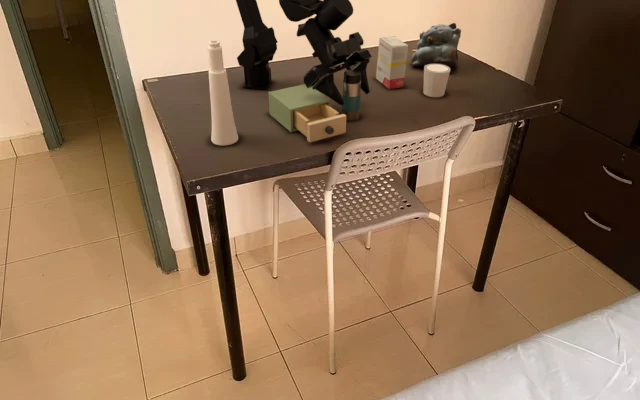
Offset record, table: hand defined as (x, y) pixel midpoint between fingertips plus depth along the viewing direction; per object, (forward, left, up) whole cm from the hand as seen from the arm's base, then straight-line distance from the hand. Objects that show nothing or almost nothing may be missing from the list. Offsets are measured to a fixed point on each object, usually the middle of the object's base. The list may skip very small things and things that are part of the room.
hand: (355, 98), depth 120 cm
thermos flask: (-1, +1, -5) cm, 5 cm away
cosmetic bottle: (-28, -16, -5) cm, 32 cm away
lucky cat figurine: (+19, +40, -5) cm, 45 cm away
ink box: (+7, +24, -5) cm, 26 cm away
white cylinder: (+19, +19, -5) cm, 28 cm away
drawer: (-8, -9, -4) cm, 12 cm away
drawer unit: (-13, -2, -5) cm, 14 cm away
